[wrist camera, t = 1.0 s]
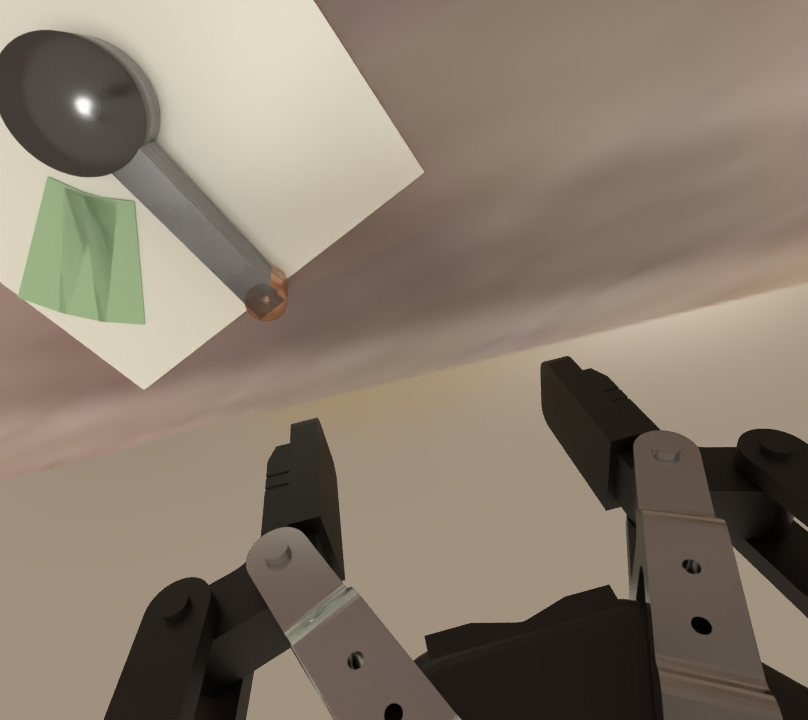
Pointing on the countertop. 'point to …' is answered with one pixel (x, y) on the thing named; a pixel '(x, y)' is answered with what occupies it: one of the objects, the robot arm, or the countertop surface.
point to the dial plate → (196, 170)
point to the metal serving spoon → (122, 148)
